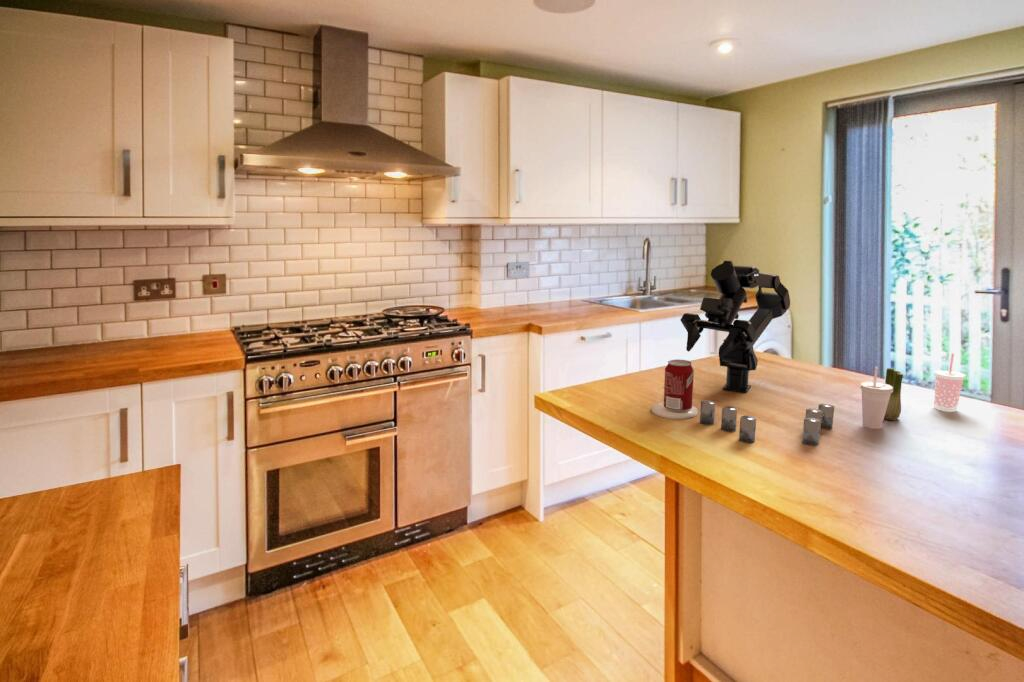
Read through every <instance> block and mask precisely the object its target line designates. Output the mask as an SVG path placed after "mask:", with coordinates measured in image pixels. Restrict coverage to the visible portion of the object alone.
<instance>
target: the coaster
mask: <svg viewBox="0 0 1024 682" xmlns="http://www.w3.org/2000/svg"><path fill="white" fill-rule="evenodd" d="M651 413H652V414H653V415H655V416H657V417H661V418H664V419H671V420H687V419H693V418H695V417H697V416H698V414H699V409H698V408H697V407H695V406H694V405H692V409H691V410H688V411H687V412H682V413H678V412H672V411H669V410H668V409H666V408H665V407H664V401H663V402H662V401H661V402H658V403H654V404H653V405H652V406H651Z"/></svg>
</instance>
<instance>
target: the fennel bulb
mask: <svg viewBox="0 0 1024 682" xmlns="http://www.w3.org/2000/svg"><path fill="white" fill-rule="evenodd" d="M885 372H886V373H885V381H884V382H885V383H884V384H888V385H890V386H892V387H893V392H892V393H891V394H890V398H889V402H888V405H887V409H886V413H885V416H884V420H891V421H895V420H897V419H899V418H900V415H901V412H902V401H901V399H902V398H901V393H902V381H903V373H901V372H900V371H898V370H895V369H894V368H890V367H886V371H885Z"/></svg>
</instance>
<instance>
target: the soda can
mask: <svg viewBox="0 0 1024 682" xmlns="http://www.w3.org/2000/svg"><path fill="white" fill-rule="evenodd" d="M694 374H695V370H694V368H693V366H692V362H691V361H690V360H687V359H678V358H677V359H669V360H668V361H667V365H666V366H665V367H664V384H663V385H664V386H663V389H664V391H663V402H664V407H665V408H666V409H668V410H669V411H672V412H678V413H682V412H687V411H688V410H691V409H692V406H693V394H694V393H693V391H694V376H695V375H694Z"/></svg>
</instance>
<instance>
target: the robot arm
mask: <svg viewBox="0 0 1024 682" xmlns="http://www.w3.org/2000/svg"><path fill="white" fill-rule="evenodd" d="M710 276H711V278H712V281H713V284H714V285H715V287H716V288H715V289H716V290H717V292H718V293H720V294H721V295H720V296H719V298H714V297H703V298H702V300H701V304H700V307H699V310H700V311H703V312H705V314H704V316H705V318H706V320H705V319H702V318H701V317H700V315H699V314H696V313H689V312H685V313H683V315H682V316H681V317H680V322H681V324H682V326H683V328H684V329H685V330H686V332H687V337H686V338H687V341H686V348H685V350H686V351H687V352H688V353H689V352H691V350H692V349H693V348H694V347H695V345H696V344H697V342H698V341H699V340H700V338H701V333H703V331H704V329H707V330H714V331H719V332H725V333H728V335H727V336H726V338H725V339H723V343H722V344H720V346H719V348H718V358H719V359H718V360H719V366H720V367H726V378H725V379H726V381H725V384H724V385H723V386H722V390H724V391H733V392H740V393H748V392H749V390H750V389H751V388H752V385H750V384H749V376H750V374H749V373H750V372H751V371H756V370H757V366H758V361H759V360H758V358H757V356H756V354H755V350H754V345H755V344H756V342H757V341H758V339H759V338H760V337H761V335H762V334H763V333H764V331H765V330H766V328H767V327H768V326H769V325H770V323H771V322H772V320H774V319H777V318H781V317H782V316H784V314H785V313H786V312H787V311H788V310H789V308H790V306H791V299H790V293H789V290H788V288H786V286H785V285H784V284H783V283H782V282H781V278H780V276H779V275H777V274H774V273H769V274H768V273H763V272H760V269H759V268H757V267H755V266H748V265H747V266H746V265H734V263H733V261H732V260H723V262H722V263H721V264H718V265H716V266H715V267H714V268H712V269H711V272H710ZM757 287H758V290H757V292H756V294H755V300H756V304H757V309H756V310H755V312H754V313H753V314H752V316H751V317H750V319H749V320H746V319H745V320H744V319H739V317H740V315H739V312H740V309H741V307H742V305H743V304H747V303H748V297H747V295H748V294H747V292H746V290H745V289H755V288H757ZM762 289H772V290H774V292H766V291H763V290H762Z"/></svg>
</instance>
